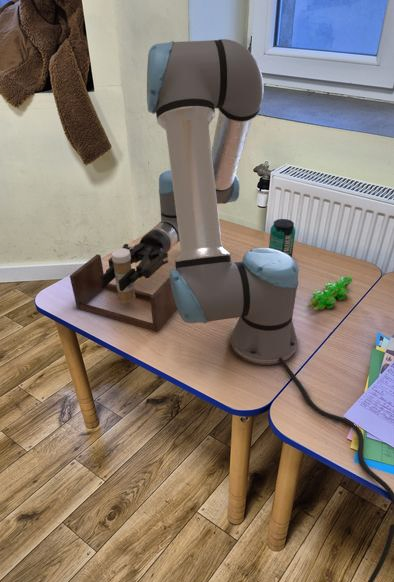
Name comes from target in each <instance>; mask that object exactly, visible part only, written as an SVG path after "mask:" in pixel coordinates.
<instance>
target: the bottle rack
mask: <svg viewBox="0 0 394 582" xmlns="http://www.w3.org/2000/svg"><path fill="white" fill-rule="evenodd" d="M103 274H105V273H104V266H103V262H102V256H101V254H97V253H96V255H94V256H93V257H92V258H90V259H89V260H88V261H86V262H85V263H84V264H83V265H81V266H80V267H79V268H78V269H76V270H75V271H74V272H72V273H71V274H70V275H69V279H70V284H71V288H72V292H73V297H74V302H75V306H76V309H78V310H81V311H83V312H84V311H85V312H88V313H90V314H91V313H92V314H94V315H98V316H102V317H105V318H108V319H112V320H115V321H119V322H122V323H126V324H130V325H133V326H136V327H140V328H142V329H146V330H149V331H153V332H157V333H158V332H159V331H160V330H161V329H162V328H163V326H164V325H165V324H166V322H167V321H168V320H169V319H170V318H171V317H172V315H173V314H174V313H175V312H177V311H178V309H177V306H176V303H175V300H174V296H173V293H172V288H171V284H170V283H171V282H170V278H169V277H168V278H167V279H166V280H165V281H164V282H163V283H162V284H161V285H160V286H159V288H157V289H156V290H155V291H154V292H153V293H148V292H144V291H140V290H136V289H134V292H135V298H138V299H142V300H145V301H148V302H149V301H150V309H151V310H150V311H151V320H152V322H150V321H146V320H144V319H139V318H136V317H132V316H128V315H126V314H122V313H119V312H116V311H112V310H108V309H104V308H101V307H97V306H94V305H90V304H88V303H89V302H90V301H92V300H93V299H94V298H95V297H96V296H97V295H98V294H99V293H101V292H102V291H103V290H104V289H105V290H107V291H112V292H115V293H118V290H117V285H116V284H114V283H111V282H110V283H109V284H108V285H107V286H105V287H104V286H102V280H101V276H102V275H103Z"/></svg>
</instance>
